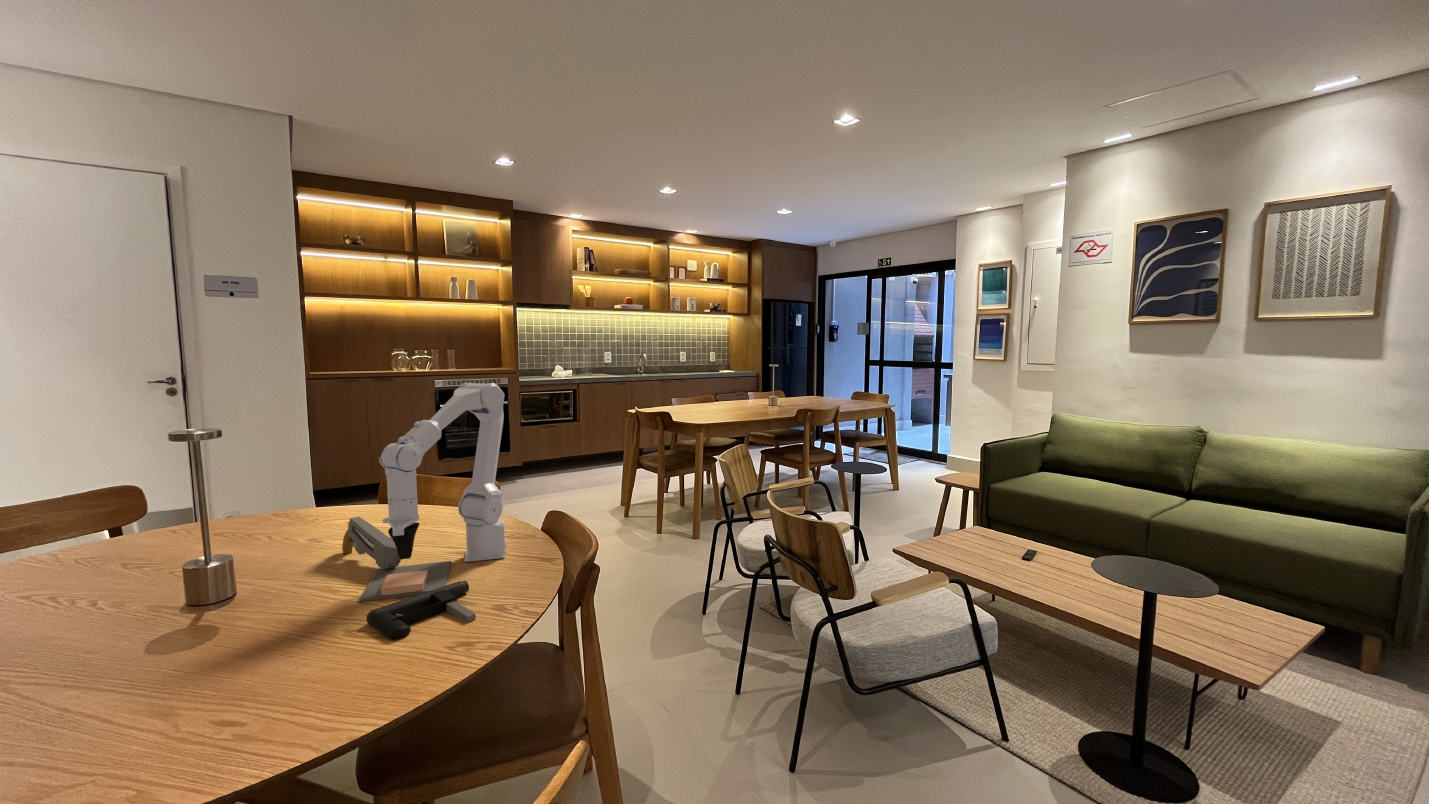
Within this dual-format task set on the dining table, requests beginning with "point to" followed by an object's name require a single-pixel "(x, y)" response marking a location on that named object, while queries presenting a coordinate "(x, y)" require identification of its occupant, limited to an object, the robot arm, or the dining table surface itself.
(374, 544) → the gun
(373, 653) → the dining table surface
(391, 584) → the tile
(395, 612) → the door handle
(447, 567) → the mat
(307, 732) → the dining table surface
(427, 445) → the robot arm
